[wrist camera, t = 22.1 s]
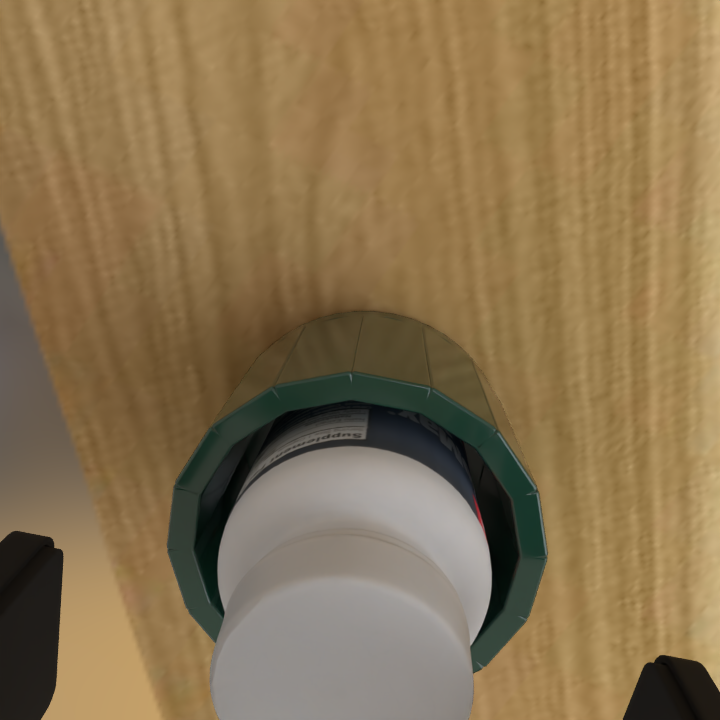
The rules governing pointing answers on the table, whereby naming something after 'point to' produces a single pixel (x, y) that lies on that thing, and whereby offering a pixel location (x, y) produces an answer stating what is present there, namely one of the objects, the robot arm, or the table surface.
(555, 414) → the table surface
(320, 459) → the pill bottle
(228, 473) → the cup
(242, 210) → the table surface
